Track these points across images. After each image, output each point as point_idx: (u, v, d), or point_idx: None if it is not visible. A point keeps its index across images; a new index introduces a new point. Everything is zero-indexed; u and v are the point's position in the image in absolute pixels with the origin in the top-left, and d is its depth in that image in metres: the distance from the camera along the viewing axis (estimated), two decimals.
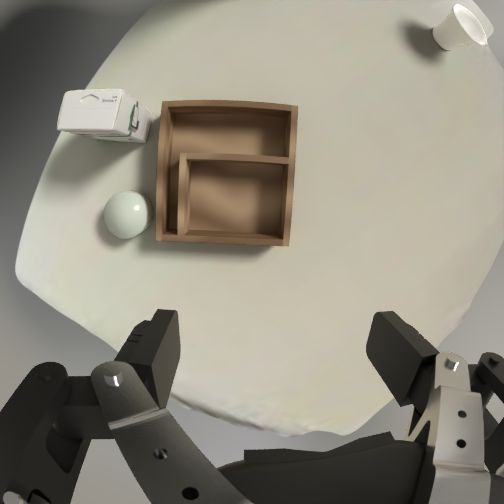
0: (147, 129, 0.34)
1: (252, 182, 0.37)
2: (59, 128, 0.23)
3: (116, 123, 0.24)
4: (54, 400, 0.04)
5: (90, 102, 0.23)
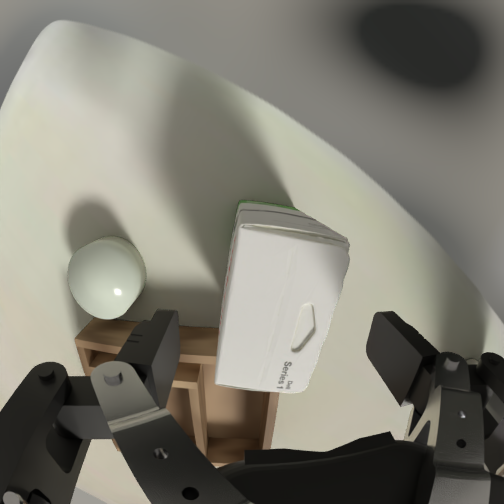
0: None
1: (177, 414, 0.27)
2: (240, 235, 0.11)
3: (229, 384, 0.13)
4: (54, 400, 0.04)
5: (291, 335, 0.12)
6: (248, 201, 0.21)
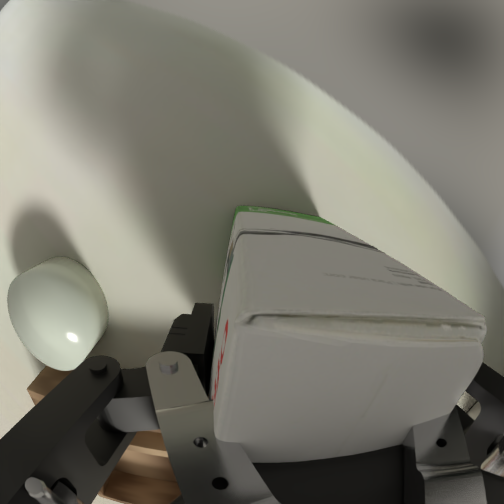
0: None
1: (164, 464, 0.19)
2: (243, 346, 0.03)
3: None
4: (102, 395, 0.05)
5: None
6: (251, 208, 0.13)
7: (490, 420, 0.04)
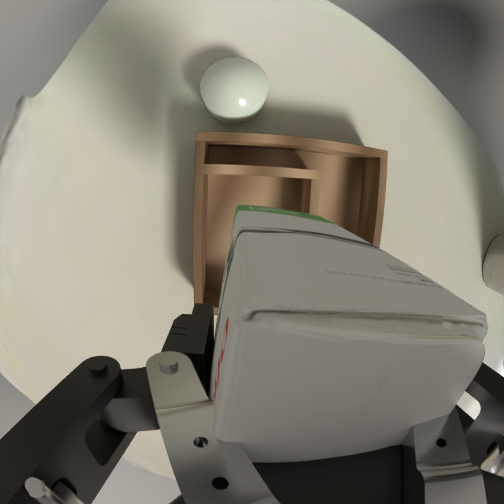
0: None
1: None
2: (243, 342, 0.03)
3: None
4: (102, 395, 0.05)
5: None
6: (251, 207, 0.13)
7: (490, 420, 0.04)
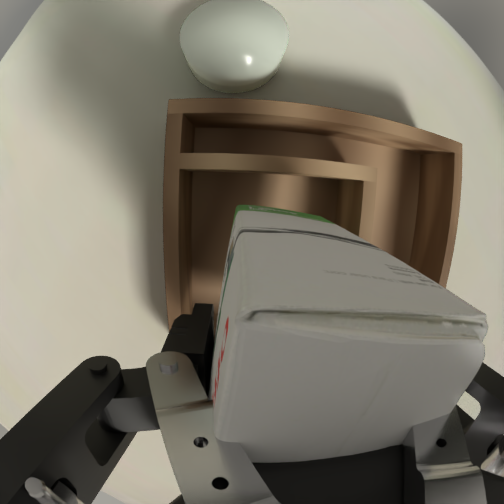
0: None
1: None
2: (243, 342, 0.03)
3: None
4: (102, 395, 0.05)
5: None
6: (251, 207, 0.13)
7: (490, 420, 0.04)
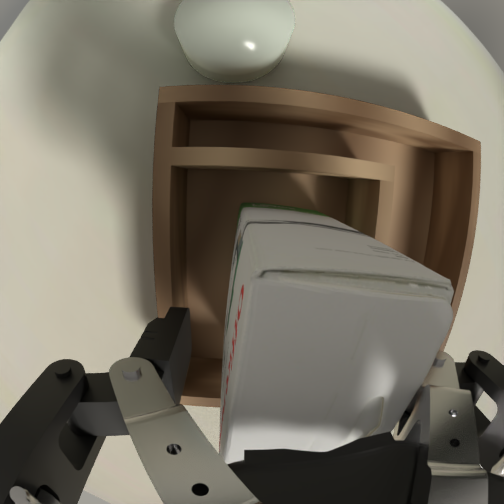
0: None
1: None
2: (257, 294, 0.05)
3: None
4: (70, 398, 0.05)
5: (342, 438, 0.06)
6: (254, 204, 0.14)
7: None
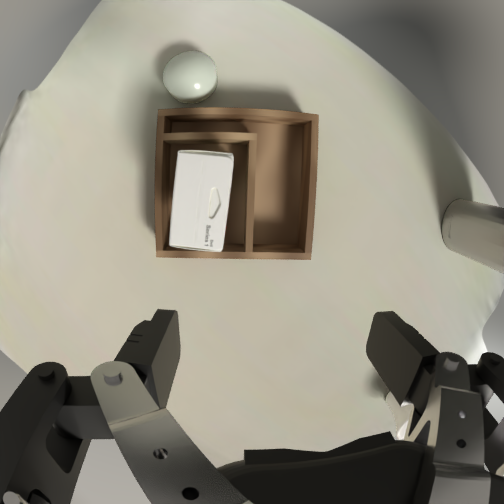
0: None
1: None
2: (178, 156, 0.21)
3: (178, 247, 0.24)
4: (55, 400, 0.04)
5: (207, 206, 0.22)
6: None
7: None
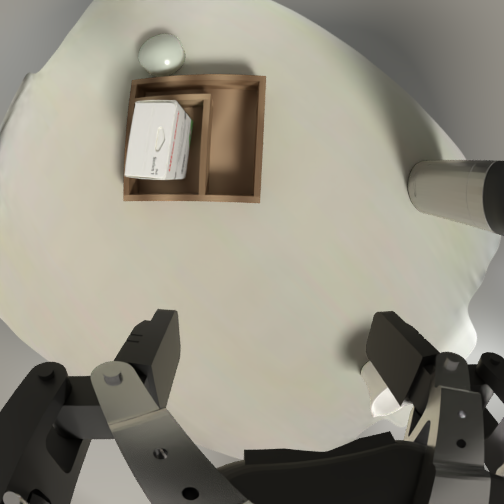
0: None
1: None
2: (135, 105, 0.24)
3: (131, 177, 0.26)
4: (54, 400, 0.04)
5: (154, 142, 0.25)
6: None
7: None
